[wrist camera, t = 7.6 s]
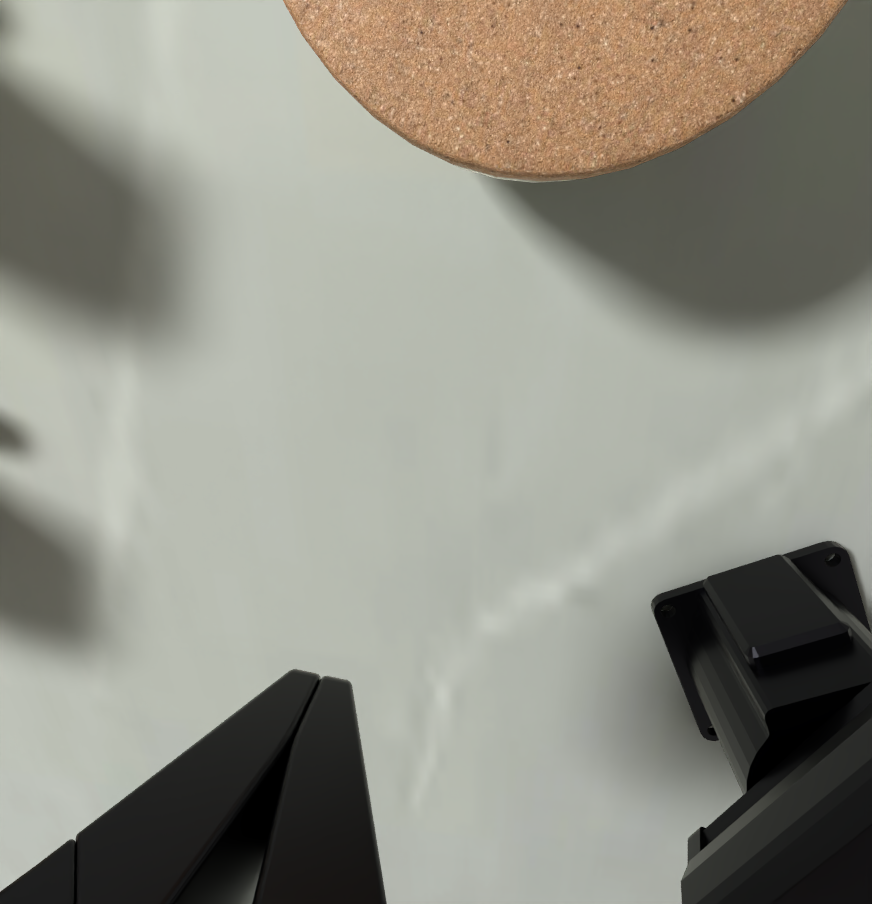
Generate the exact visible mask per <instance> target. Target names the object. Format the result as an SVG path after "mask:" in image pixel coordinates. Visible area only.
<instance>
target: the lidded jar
mask: <svg viewBox="0 0 872 904" xmlns="http://www.w3.org/2000/svg"><path fill="white" fill-rule="evenodd" d="M283 1H284V3H285V5H286V7H287V9H288V10H289V12H290V14H291V16H292V18H293V19H294V21H295V23H296V25H297V27H298V29H299V30H300V32H301V34H302V36H303V37H304V38H305V40H306V41H307V42H308V44H309V45H310V46H311V48H312V49H313V50H314V52H315V53H316V54H317V56H318V57H319V58H320V60H321V61H322V62H323V64H324V65H325V66H326V68H327V69H328V70H329V72H330V73H331V74H332V76H333V77H334V78H335V79H336V80H337V82H339V83H340V84H341V85H342V86H343V87H344V88H345V89H346V90H347V91H348V92H349V93H350V94H351V95H352V96H353V97H354V98H355V99H356V100H357V101H358V102H359V103H360V104H361V105H362V106H363V107H364V108H365V109H366V110H367V111H368V112H369V113H370V114H371V115H372V116H373V117H374V118H376V119H377V120H378V121H380V122H381V123H383V124H384V125H385V126H387V127H388V128H390V129H391V130H392V131H394V132H395V133H397V134H398V135H399V136H401V137H402V138H404V139H405V140H406V141H408V142H409V143H411V144H412V145H414V146H416V147H418V148H420V149H422V150H424V151H426V152H428V153H430V154H432V155H434V156H436V157H439V158H441V159H443V160H445V161H447V162H449V163H451V164H453V165H455V166H458V167H460V168H462V169H465V170H469V171H472V172H475V173H479V174H482V175H486V176H489V177H493V178H496V179H504V180H514V181H523V182H532V183H536V182H552V181H569V180H575V179H585V178H590V177H594V176H598V175H603V174H607V173H611V172H616V171H620V170H624V169H629V168H632V167H634V166H637V165H639V164H642V163H644V162H647V161H649V160H652V159H654V158H657V157H659V156H662V155H664V154H667V153H669V152H672V151H674V150H677V149H679V148H681V147H683V146H684V145H686V144H688V143H689V142H691V141H693V140H695V139H696V138H698V137H700V136H701V135H703V134H705V133H706V132H708V131H710V130H712V129H713V128H715V127H717V126H718V125H720V124H722V123H724V122H725V121H727V120H729V119H730V118H732V117H733V116H734V115H736V114H737V113H738V112H740V111H741V110H742V109H743V108H745V107H746V106H747V105H748V104H750V103H751V102H752V101H753V100H755V99H756V98H757V97H759V96H760V95H761V94H762V93H764V92H765V91H766V90H767V89H769V88H770V87H771V86H772V85H774V84H775V83H776V82H777V81H778V80H779V79H780V78H781V77H782V76H783V75H784V74H785V73H786V72H787V71H788V70H789V69H790V68H791V67H792V66H793V65H794V64H795V63H796V62H797V61H798V60H799V59H800V58H801V57H802V56H803V55H804V54H805V53H806V51H807V50H808V49H809V48H810V47H811V46H812V45H813V44H814V43H815V42H816V41H817V40H818V39H819V38H820V37H821V36H822V34H823V33H824V32H825V30H826V29H827V28H828V26H829V25H830V24H831V22H832V21H833V20H834V18H835V17H836V16H837V14H838V13H839V12H840V10H841V9H842V8H843V6H844V5H845V4H846V2H847V1H848V0H283Z"/></svg>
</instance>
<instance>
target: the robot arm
mask: <svg viewBox="0 0 872 904" xmlns="http://www.w3.org/2000/svg"><path fill="white" fill-rule="evenodd" d="M832 553H835V556H834V557H833V558H832V559H831V560H829V561H825V558H826V557H827V556H828V555H829V554H832ZM666 605H671V606H673V607H672V608H671V609H670V610H668V611H662V610H661V609H662V608H663V607H664V606H666ZM651 608H652V611H653V614H654V617H655V619H656V622H657V624H658V627H659V629H660V632H661V634H662V637H663V639H664V642H665V644H666V647H667V649H668V652H669V654H670V657H671V659H672V662H673V664H674V667H675V669H676V672H677V675H678V677H679V680H680V682H681V685H682V687H683V690H684V692H685V695H686V697H687V700H688V702H689V705H690V707H691V710H692V712H693V715H694V717H695V720H696V722H697V725H698V727H699V730H700V732H701V734H702V736H703V737H704V738H706V739H707V740H711V741H717V740H719V741H720V743H721V745H722V748H723V750H724V752H725V754H726V756H727V759H728V761H729V763H730V765H731V768H732V770H733V772H734V774H735V777H736V779H737V781H738V783H739V786H740V788H741V790H742V792H743V796H742V797H741V798H740V799H738V800H737V801H736V802H735V803H734V804H733V805H732V806H731V807H729V808H728V809H727V810H726V811H725V812H724V813H723V814H722V815H720V816H719V817H718V818H717V819H716V820H715V821H714V822H712V823H711V824H710V825H709V826H708V827H707V828H704V827H700V828H699V829H698V830H697V831H696V832H695V833H693V834H692V835H691V836H690V837H689V838H688V866H687V868H686V870H685V873H684V875H683V878H682V880H681V892H682V904H872V634H871V631H870V628H869V624H868V621H867V617H866V614H865V610H864V607H863V603H862V600H861V596H860V593H859V589H858V586H857V582H856V579H855V575H854V572H853V568H852V565H851V561H850V558H849V555H848V553H847V551H846V550H845V549H844V548H843V547H841V546H840V545H839V544H837V543H836V542H832V541H826V542H821V543H818V544H815V545H812V546H809V547H805V548H802V549H799V550H796V551H793V552H790V553H787V554H783V555H775V556H772V557H769V558H765V559H762V560H759V561H756V562H753V563H750V564H747V565H743V566H740V567H737V568H734V569H731V570H728V571H725V572H722V573H718V574H715V575H712V576H709V577H708V578H707V579H705V580H702V581H699V582H696V583H692V584H689V585H686V586H683V587H680V588H677V589H674V590H671V591H667V592H664V593H661V594H659V595H657V596H656V597H655V598H654V599H653V600H652V603H651ZM711 725H713V728H709V727H710V726H711ZM0 904H387V903H386V897H385V890H384V884H383V878H382V871H381V865H380V859H379V853H378V846H377V840H376V834H375V827H374V821H373V815H372V809H371V802H370V796H369V790H368V783H367V777H366V771H365V765H364V758H363V752H362V746H361V739H360V733H359V727H358V721H357V714H356V708H355V702H354V695H353V689H352V685H351V683H350V682H349V681H348V680H344V679H339V678H335V677H330V676H324V677H323V678H322V679H321V678H320V676H319V675H318V674H316V673H311V672H307V671H302V670H297V669H293V670H291V671H289V672H288V673H286V674H285V675H284V676H282V677H281V678H280V679H278V680H277V681H276V682H275V683H273V684H272V685H271V686H269V687H268V688H267V689H265V690H264V691H263V692H262V693H260V694H259V695H258V696H256V697H255V698H254V699H252V700H251V701H250V702H249V703H247V704H246V705H245V706H243V707H242V708H241V709H239V710H238V711H237V712H236V713H234V714H233V715H232V716H230V717H229V718H228V719H226V720H225V721H224V722H223V723H221V724H220V725H219V726H217V727H216V728H215V729H213V730H212V731H211V732H210V733H208V734H207V735H206V736H204V737H203V738H202V739H200V740H199V741H198V742H197V743H195V744H194V745H193V746H191V747H190V748H189V749H187V750H186V751H185V752H184V753H182V754H181V755H180V756H178V757H177V758H176V759H174V760H173V761H172V762H171V763H169V764H168V765H167V766H165V767H164V768H163V769H161V770H160V771H159V772H158V773H156V774H155V775H154V776H152V777H151V778H150V779H148V780H147V781H146V782H145V783H143V784H142V785H141V786H139V787H138V788H137V789H135V790H134V791H133V792H132V793H130V794H129V795H128V796H126V797H125V798H124V799H122V800H121V801H120V802H119V803H117V804H116V805H115V806H113V807H112V808H111V809H109V810H108V811H107V812H106V813H104V814H103V815H102V816H100V817H99V818H98V819H96V820H95V821H94V822H93V823H91V824H90V825H89V826H87V827H86V828H85V829H83V830H82V831H81V832H80V833H78V834H77V836H76V842H75V840H72V839H71V840H69V841H67V842H66V843H65V844H63V845H62V846H61V847H60V848H58V849H57V850H56V851H54V852H53V853H52V854H50V855H49V856H48V857H47V858H45V859H44V860H43V861H41V862H40V863H39V864H37V865H36V866H35V867H33V868H32V869H31V870H29V871H28V872H27V873H25V874H24V875H22V876H21V877H20V878H18V879H17V880H16V881H14V882H13V883H12V884H10V885H9V886H7V887H6V888H5V889H3V890H2V891H1V892H0Z"/></svg>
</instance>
